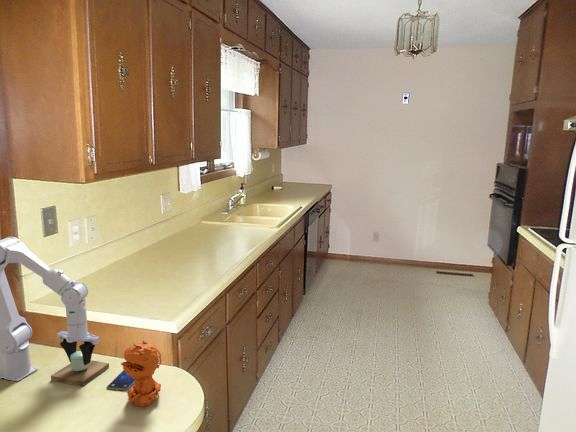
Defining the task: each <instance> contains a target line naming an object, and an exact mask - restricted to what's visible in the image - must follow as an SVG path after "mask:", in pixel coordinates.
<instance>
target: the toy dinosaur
mask: <svg viewBox="0 0 576 432" xmlns="http://www.w3.org/2000/svg"><path fill="white" fill-rule="evenodd" d="M132 344H133V345H131V346H129V347H127V348H126V349H125V350H124V352H123V355H124V360H125V361H122V362H120V366H122V369H123V370H124V371H125V372H126V374H127V375H128V376H131V377H132V378H133V379H136V380H135V382H134V385H133V386H132V387H131V388H130V389H129V390H127V391H126V396H127V402H129V403H130V405H132V403H133V404H134V405H135V406H138V405H139V407H144V406H148V405H151V404H152V403H153V402H155V399H156V397H158V398H160V395H159V394H160V393H159V392H161V388H162V385H161V384H162V383H158V382H157V381H156V380H155V378H154V377H153V376H154V374H155V372H156V370H157V369H159V368H160V366H161V365H162V356H161V355H162V354H161V352H160V351H159V349H158V348H157V347H156V346H155V345H154V344H152V343H148V342H145V341H144V340H142V343H135V342H133V343H132Z"/></svg>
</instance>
